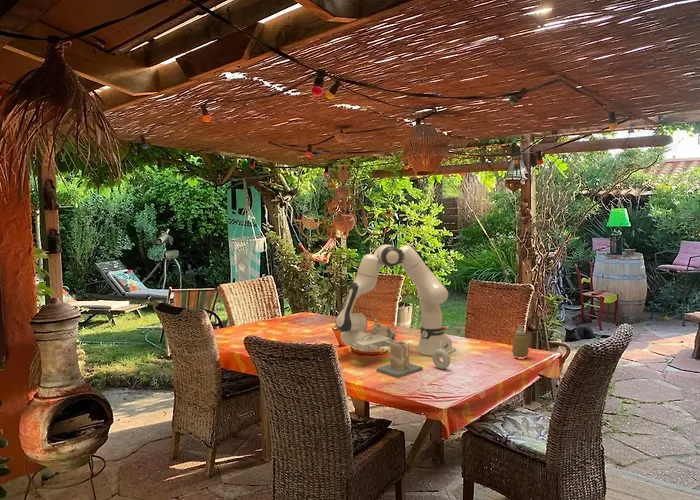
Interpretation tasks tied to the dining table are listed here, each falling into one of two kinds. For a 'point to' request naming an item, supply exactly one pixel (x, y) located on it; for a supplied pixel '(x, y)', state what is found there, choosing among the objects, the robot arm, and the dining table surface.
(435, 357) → the donut
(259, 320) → the dining table surface
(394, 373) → the post board
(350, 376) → the dining table surface
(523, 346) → the squeeze bottle
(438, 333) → the robot arm
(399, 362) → the sleeve
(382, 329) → the ceramic cottage
